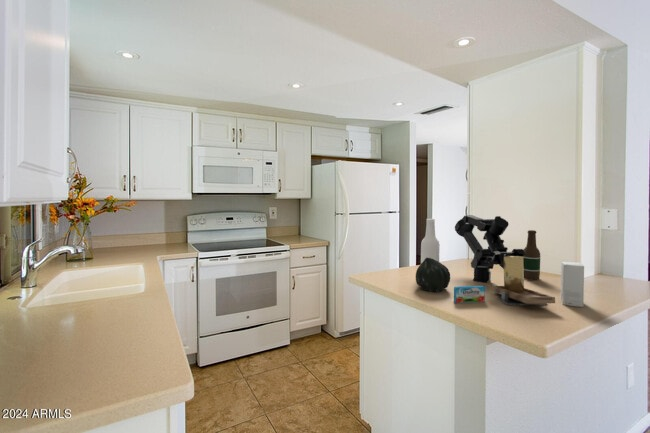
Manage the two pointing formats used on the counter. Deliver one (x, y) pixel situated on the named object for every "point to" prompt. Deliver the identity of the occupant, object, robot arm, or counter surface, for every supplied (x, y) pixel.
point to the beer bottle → (531, 258)
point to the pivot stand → (513, 300)
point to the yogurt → (469, 294)
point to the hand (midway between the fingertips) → (508, 271)
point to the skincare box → (572, 284)
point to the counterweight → (513, 274)
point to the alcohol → (430, 242)
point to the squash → (432, 275)
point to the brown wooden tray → (526, 296)
